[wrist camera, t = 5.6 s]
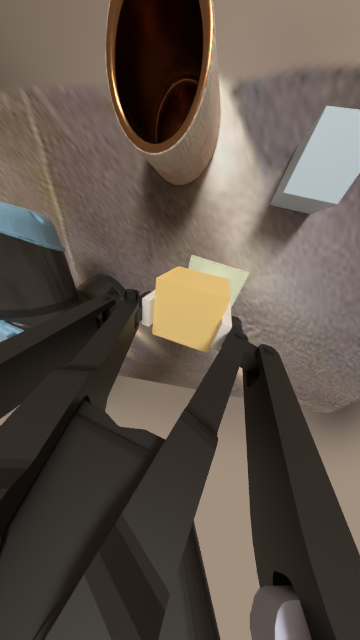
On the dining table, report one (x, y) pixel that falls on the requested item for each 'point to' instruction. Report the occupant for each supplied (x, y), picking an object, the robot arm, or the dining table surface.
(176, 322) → the ochre brick
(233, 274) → the baseplate
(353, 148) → the blue brick
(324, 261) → the dining table surface
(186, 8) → the planter
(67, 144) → the dining table surface
